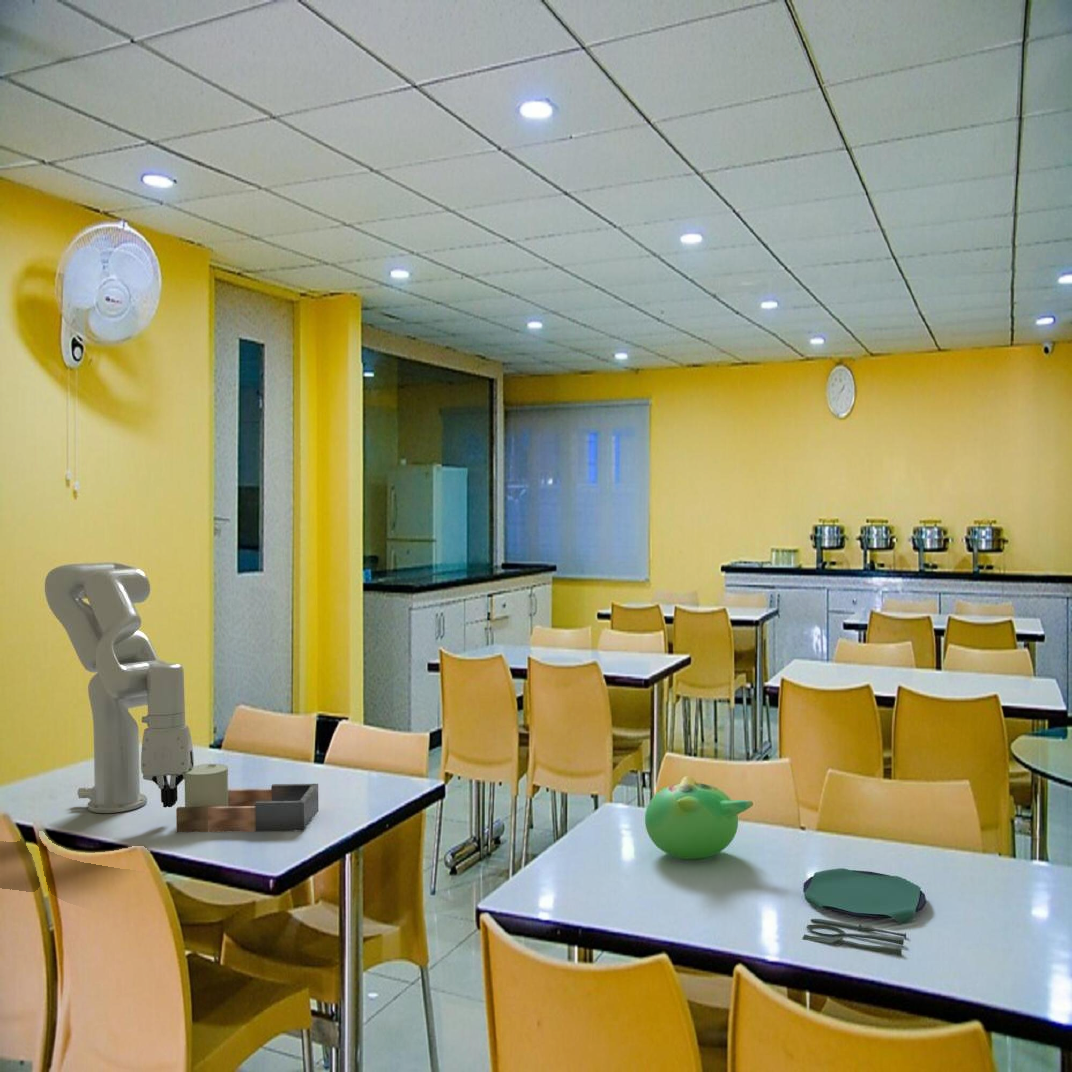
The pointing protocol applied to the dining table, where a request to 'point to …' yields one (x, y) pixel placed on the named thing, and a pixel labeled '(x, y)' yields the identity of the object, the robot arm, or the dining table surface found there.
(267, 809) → the box
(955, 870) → the dining table surface
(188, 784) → the can
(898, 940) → the cutlery set
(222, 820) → the channel
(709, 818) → the toy bird
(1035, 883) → the dining table surface
